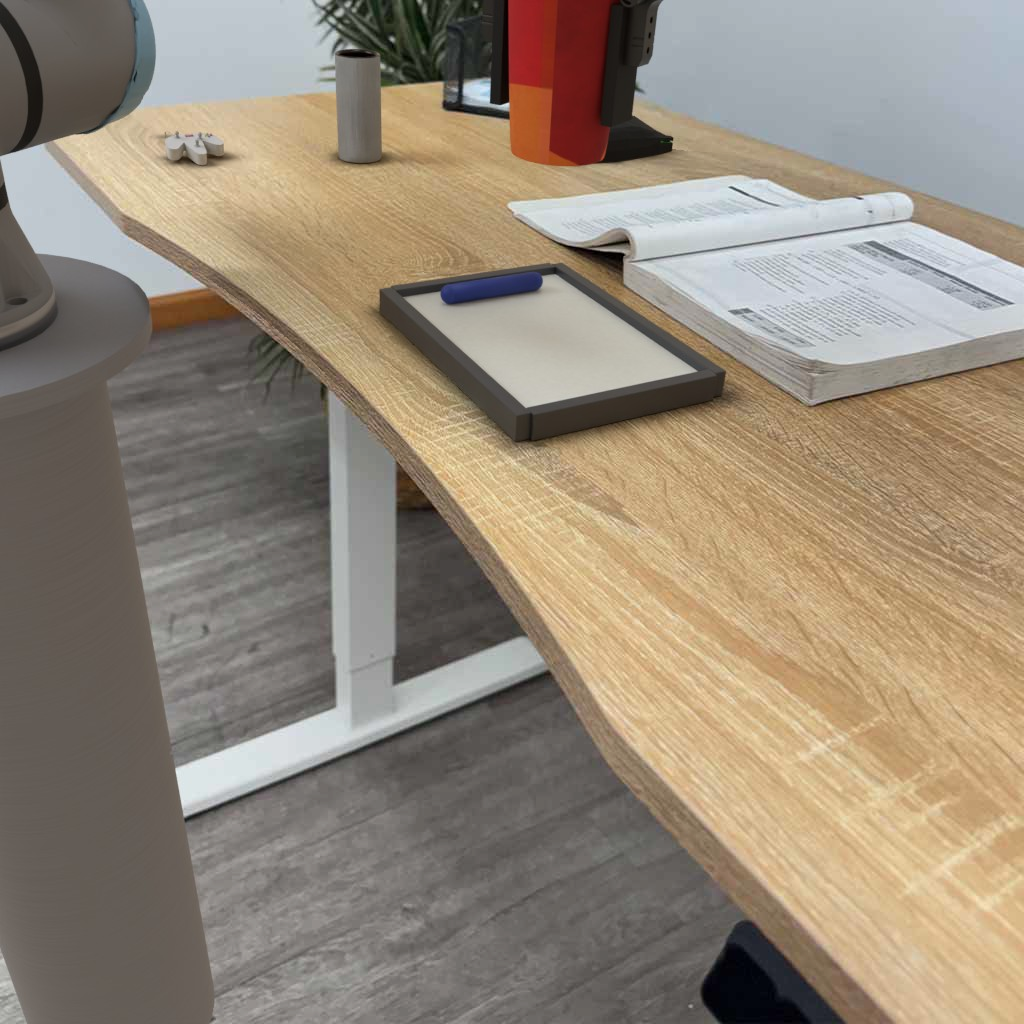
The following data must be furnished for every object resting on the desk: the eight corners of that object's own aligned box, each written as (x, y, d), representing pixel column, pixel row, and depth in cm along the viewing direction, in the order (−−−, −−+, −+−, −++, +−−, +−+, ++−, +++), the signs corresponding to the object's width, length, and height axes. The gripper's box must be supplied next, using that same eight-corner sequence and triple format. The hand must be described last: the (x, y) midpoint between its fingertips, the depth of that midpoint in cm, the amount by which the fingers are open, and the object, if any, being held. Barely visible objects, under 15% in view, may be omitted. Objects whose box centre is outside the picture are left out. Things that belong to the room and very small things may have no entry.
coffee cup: (631, 144, 69) (660, -123, 61) (612, 178, 62) (642, -117, 54) (506, 130, 71) (518, -133, 62) (475, 162, 64) (484, -129, 56)
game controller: (187, 169, 105) (184, 142, 104) (120, 146, 111) (116, 120, 110) (233, 158, 109) (231, 132, 108) (166, 137, 115) (162, 111, 113)
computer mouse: (508, 143, 120) (510, 106, 117) (614, 127, 128) (618, 92, 126) (574, 169, 112) (578, 130, 110) (682, 150, 121) (687, 113, 119)
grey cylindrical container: (348, 165, 109) (345, 58, 104) (331, 153, 112) (327, 49, 107) (388, 161, 111) (387, 56, 106) (371, 150, 114) (369, 47, 109)
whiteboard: (377, 310, 79) (377, 276, 77) (558, 282, 85) (561, 250, 84) (517, 444, 63) (520, 405, 62) (725, 397, 70) (731, 361, 68)
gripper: (814, -364, 51) (735, 128, 64) (468, -358, 59) (459, 76, 72) (759, -390, 46) (684, 154, 58) (387, -380, 54) (392, 94, 66)
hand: (559, 110), depth 65 cm, fingers closed on coffee cup, 7 cm apart
